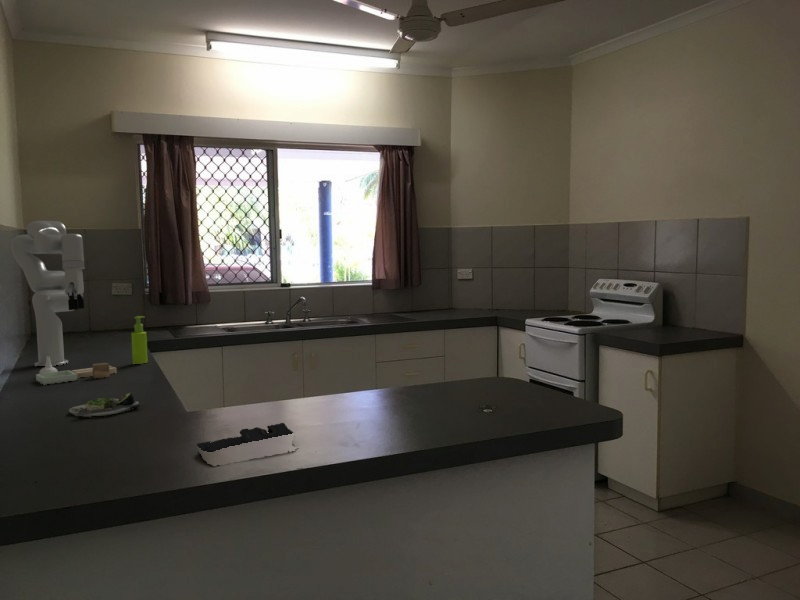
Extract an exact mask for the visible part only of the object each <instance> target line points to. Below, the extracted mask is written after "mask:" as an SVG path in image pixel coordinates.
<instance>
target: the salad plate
mask: <svg viewBox="0 0 800 600" xmlns="http://www.w3.org/2000/svg"><path fill="white" fill-rule="evenodd" d="M142 405H143V403H142V402H141V403H140V402H139V401H137V400H135V398H134V395H133V393H132V392H128V393H127V394H125V395H121V396H119V398H110V397H99V398H95V399H93V400H88V401H87V402H86V403H85V404H84V403H83V404H81V405H76V406H72V407H71V408H69V409H68V413H69V414H70V415H73V416H74V415H75V417H79V416H83V417H82V418H86V417H89V418H92V417H91V416H104V417H106V416H105V415H111V414H115V413H119V412H122V411H125V410H129V409H132V408H136V407H137V408H138V407H140V406H142ZM85 408H86V409H87V410H86V411H82V412H81V413H79V411H80V410H82V409H85ZM137 408H136V409H137Z"/></svg>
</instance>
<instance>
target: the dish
mask: <svg viewBox="0 0 800 600" xmlns="http://www.w3.org/2000/svg"><path fill="white" fill-rule="evenodd" d="M35 380H36V382H37V381H38V382H37V383H39V382H40V383H39V384H41V385H42V384H43V385H42V386H48V385H47V384H50V385H56V384H55V383H57V384H63V383H62V382H65V383H69V382H68V381H72V382H77V381H78V378H77V374H76V373H74V372H71V370H69V369H68V370H61V371H58V372H51V373H43V374H39V373H37V374H35ZM76 380H77V381H76Z"/></svg>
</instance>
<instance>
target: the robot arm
mask: <svg viewBox="0 0 800 600" xmlns="http://www.w3.org/2000/svg"><path fill="white" fill-rule="evenodd" d="M26 233H27V234H19V235H17V236H14V237H13V238H12V239H11V242H10V247H11V253H12V256H13V258H14V260H15V261H16V263H17V264H18V265H19V266H20V268H21V270H22V271H23V274H24V276H25V278H26V281H27V283H28V286H29V288H30V290H31V291H32V292H33V293H34V294H33V296H32V298H31V300H32V306H33V307H32V308H33V311H34V316H35V324H36V326H35V327H36V340H37V357H38V361H36V362H34V367H37V366H45V365H46V359H47V357H50V361H51V365H52V367H56V365H58V366H63V364H64V365H67V364H69V359H65V351H64V348H65V347H64V335H63V323H62V320H61V319H60V317H59V316H58V314H56V313H61V312H62V313H63V312H73V311H76V310H81V309H85V299H84V291H85V286H84V276H83V270H85V258H84V257H85V256H84V241H83V236H82V235H81V234H79V233H67V227H66V226H65V225H64V223H63V222H61V221H59V220H58V221H57V220H34V221H32V222H29V224H28V225H27V227H26ZM40 254H41V255H42V254H43V255H44V254H45V255H61V257H62V258H61V259H62V260H61V261H62V270H48V269H47V268H46V264H45V262H43V261H42V260H41V259H40V258H39V257H38V256H35V255H40ZM66 363H67V364H66Z"/></svg>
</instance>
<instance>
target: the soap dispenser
mask: <svg viewBox="0 0 800 600" xmlns="http://www.w3.org/2000/svg"><path fill="white" fill-rule="evenodd" d="M133 318H134V319H135V324H134V325H133V328H134V332H131V356H132V365H134V364H141V365H143V364H142V363H147V362H148V363H149V359H148V338H147V332H146V331H144V324H143V323H141V319H144V318H146V317H145V315H137V316H134V317H133ZM148 363H147V364H148Z"/></svg>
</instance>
